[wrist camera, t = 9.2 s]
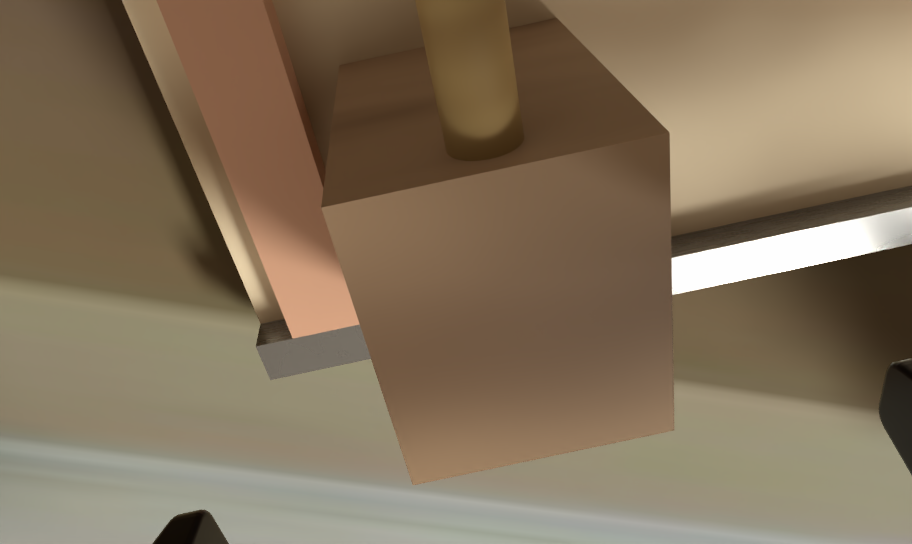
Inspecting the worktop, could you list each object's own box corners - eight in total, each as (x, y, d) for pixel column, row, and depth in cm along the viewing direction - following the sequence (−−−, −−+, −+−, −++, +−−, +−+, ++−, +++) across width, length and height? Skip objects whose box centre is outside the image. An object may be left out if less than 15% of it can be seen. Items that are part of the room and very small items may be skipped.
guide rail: (1035, 195, 20) (1066, 211, 19) (274, 356, 20) (270, 379, 19) (1048, 156, 19) (1079, 171, 18) (260, 323, 19) (255, 346, 18)
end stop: (366, 301, 19) (366, 323, 18) (296, 316, 19) (292, 338, 18) (187, -266, 12) (175, -273, 11) (78, -241, 12) (56, -247, 11)
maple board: (982, 172, 21) (1034, 201, 20) (284, 320, 22) (276, 361, 20) (1146, -464, 14) (1253, -504, 12) (64, -223, 14) (23, -229, 12)
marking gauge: (579, 242, 19) (674, 430, 13) (399, 281, 19) (412, 484, 13) (535, -194, 13) (663, -209, 8) (283, -137, 13) (215, -110, 8)
